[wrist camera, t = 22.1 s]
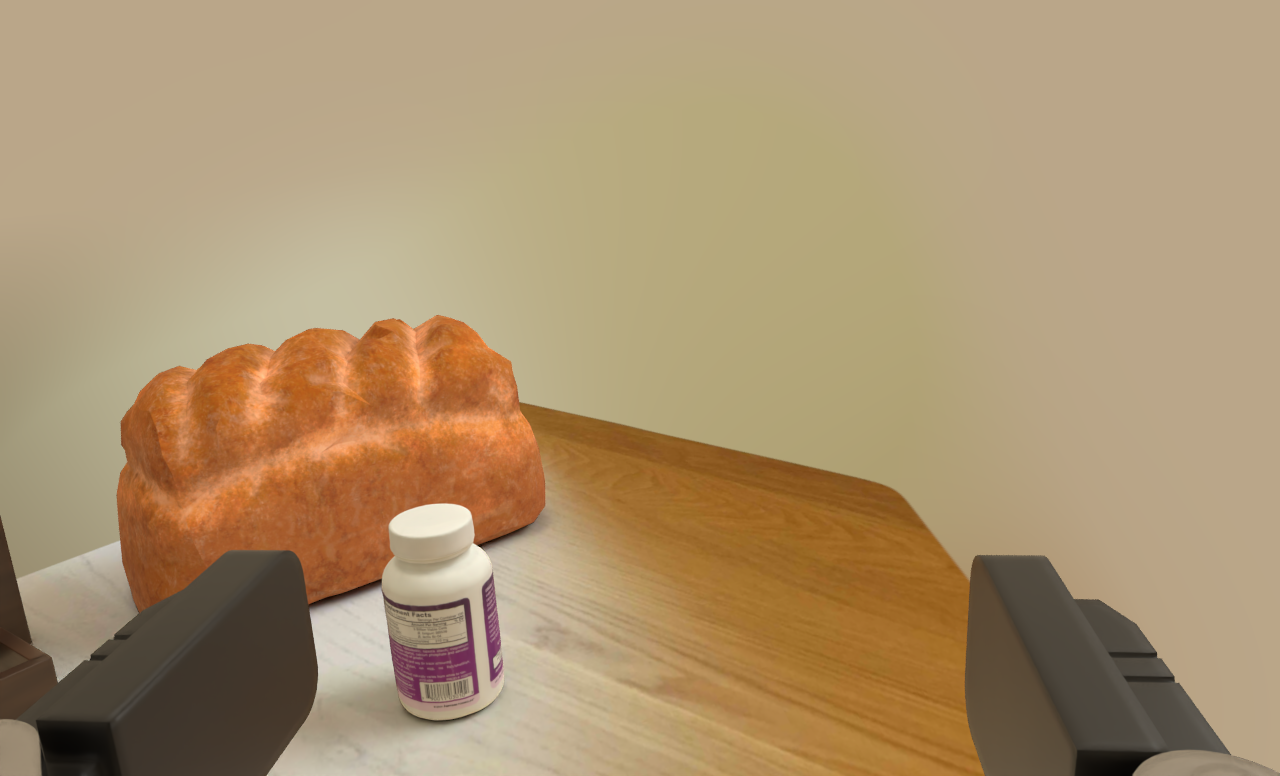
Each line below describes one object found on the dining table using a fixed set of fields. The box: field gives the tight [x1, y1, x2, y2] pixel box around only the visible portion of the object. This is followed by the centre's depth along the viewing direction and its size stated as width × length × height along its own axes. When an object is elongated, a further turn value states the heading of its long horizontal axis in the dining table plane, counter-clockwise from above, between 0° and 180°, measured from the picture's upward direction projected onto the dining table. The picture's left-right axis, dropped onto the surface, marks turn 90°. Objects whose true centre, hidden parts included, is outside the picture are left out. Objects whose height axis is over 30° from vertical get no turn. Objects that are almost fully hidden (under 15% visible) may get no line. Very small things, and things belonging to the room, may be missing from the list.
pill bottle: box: [382, 504, 504, 720], centre depth 49 cm, size 5×5×10 cm
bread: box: [117, 315, 545, 613], centre depth 66 cm, size 14×26×16 cm, turn 129°
